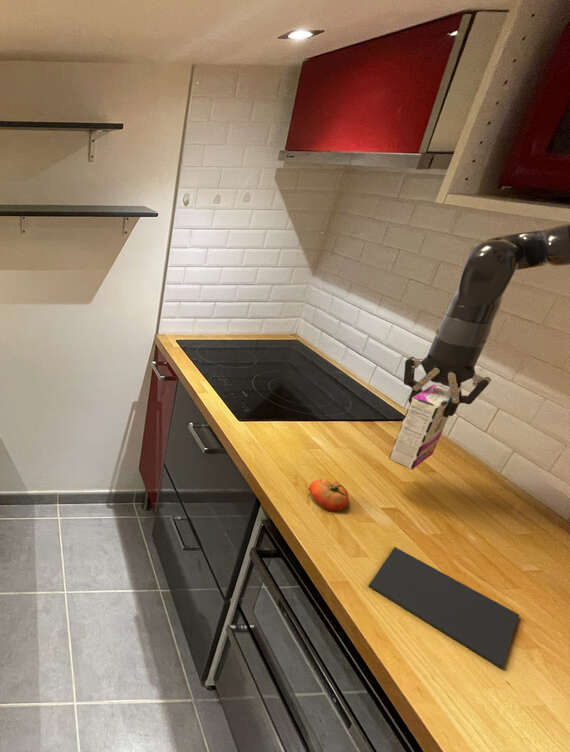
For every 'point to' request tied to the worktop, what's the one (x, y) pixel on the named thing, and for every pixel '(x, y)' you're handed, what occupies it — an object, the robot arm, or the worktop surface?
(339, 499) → the tomato
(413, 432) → the candy bar box
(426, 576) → the mat
